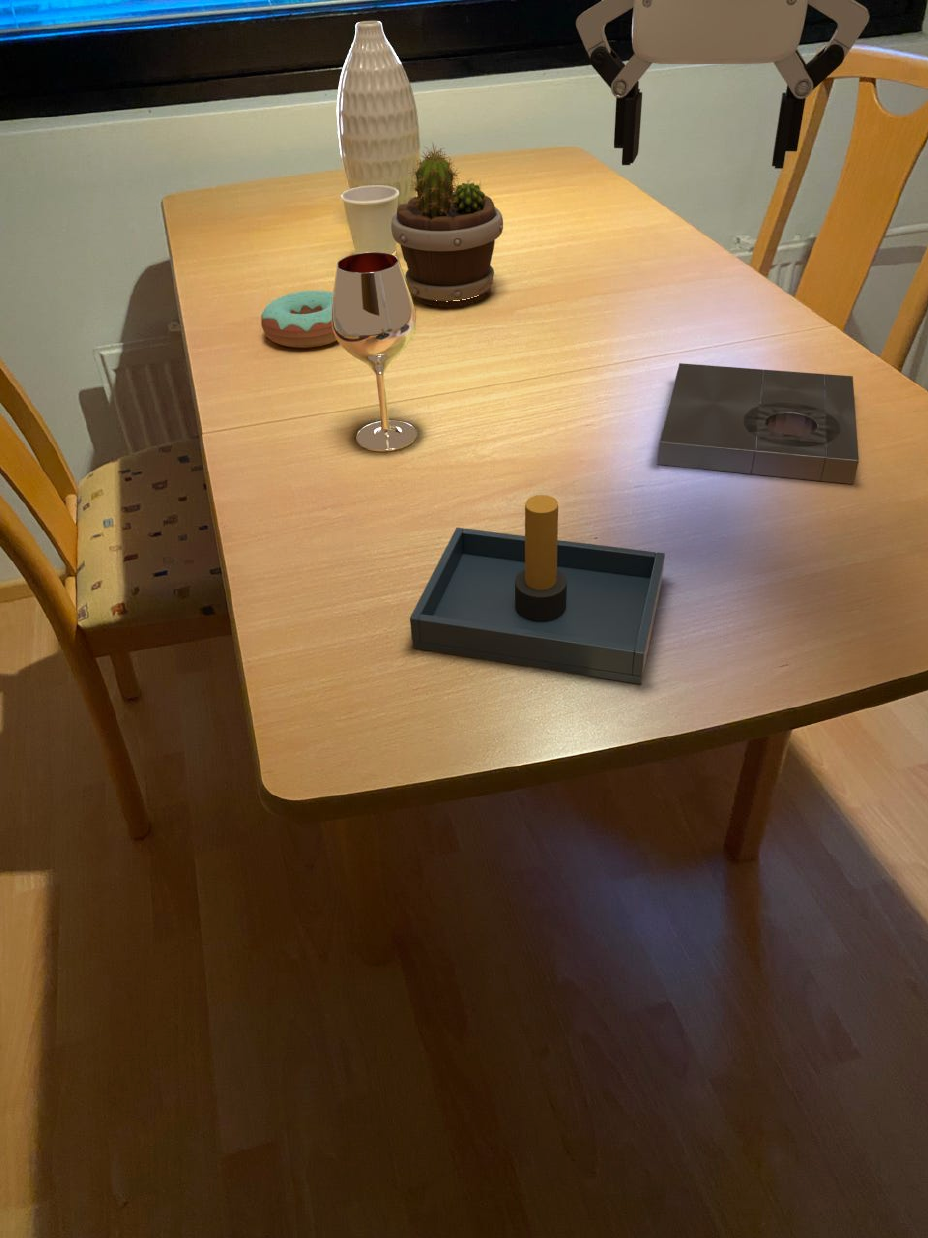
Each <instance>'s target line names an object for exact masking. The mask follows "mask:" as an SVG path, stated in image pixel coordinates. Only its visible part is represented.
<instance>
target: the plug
mask: <svg viewBox="0 0 928 1238" xmlns="http://www.w3.org/2000/svg"><path fill="white" fill-rule="evenodd" d="M558 535H559V502H558V500H557V499H556V498H555V497H553V496H551V495H547V494H537V495H532V496H530V497H529V498H527V499H526V500H525V502H524V536H525V569H524V570H522V571H521V572H520V573H519V574H518V575H517V576H516V578H515V608H516V611H517V612H518V614H519V615H520V616H522V617H523V618H525V619H527V620H530V621H535V622H547V621H552V620H555V619H557V618H558V617H560V616H561V615H562V614H563V613H564V612H565V610H566V596H567V579H566V577H565V575H564V574H563V573H562V572H561V571H559V570H558V569H557V540H559V539H558V537H559V536H558Z"/></svg>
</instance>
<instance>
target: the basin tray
mask: <svg viewBox="0 0 928 1238" xmlns="http://www.w3.org/2000/svg"><path fill="white" fill-rule="evenodd" d="M665 557H666V553H665V552H658V551H657V552H656V551H650V550H643V549H633V548H626V547H617V546H611V545H603V544H593V543H586V542H577V541H569V540H561V539H557V569H558V570H559V571H561V572H562V573H563V574H564V575H565V577H566V579H567V596H566V610H565V612H564V613H563V614H562V615H561V616H560V617H558V618H557V619H555V620H552V621H547V622H535V621H530V620H527V619H525V618H523V617H522V616H520V615H519V614H518V612H517V611H516V608H515V578H516V576H517V575H518V574H519V573H520V572H521V571H522V570H524V569H525V535H522V534H513V533H506V532H498V531H497V532H496V531H489V530H481V529H474V528H464V527H455V529H454V532H453V533H452V535H451V537H450V539H449V541H448V543H447V545H446V547H445V548H444V551H443V553H442V554H441V557H440V559H439V560H438V562H437V564H436V566H435V568H434V571H433V572H432V574H431V575H430V578H429V580H428V582H427V584H426V585H425V588H424V590H423V591H422V594H421V596H420V597H419V599H418V601H417V603H416V605H415V607H414V608H413V611H412V613H411V615H410V617H409V625H410V632H411V642H412V643H411V644H412V648H413V649H418V650H424V651H429V652H436V653H442V654H449V655H455V656H462V657H468V658H473V659H481V660H486V661H493V662H499V663H503V664H505V663H506V664H510V665H519V666H524V667H530V668H536V669H543V670H548V671H556V672H562V673H568V674H575V675H581V676H588V677H592V678H598V679H599V678H600V679H607V680H612V681H619V682H625V683H631V684H636V685H641V684H642V682H643V678H644V673H645V667H646V662H647V657H648V652H649V647H650V642H651V637H652V632H653V628H654V623H655V619H656V618H655V617H656V613H657V607H658V603H659V598H660V594H661V589H662V584H663V575H664V567H665V566H664V565H665Z"/></svg>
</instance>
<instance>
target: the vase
mask: <svg viewBox="0 0 928 1238" xmlns="http://www.w3.org/2000/svg"><path fill="white" fill-rule="evenodd" d="M418 117H419V116H418V110H417V106H416V101H415V95H414V92H413V89H412V86H411V83H410V80H409V77H408V75H407V72H406V70H405V68H404V66H403V64H402V62H401V59H399V56H397V53H396V52H395V49H394V48H393V47H392V45H391V43H390V41H388V39H387V36H386V35H385V32H384V29H383V24H382V22H381V21H379V20H363V21H359V22H356V24H355V33H354V38H353V41H352V43H351V46H350V49H349V51H348V53H347V56H346V58H345V62H344V64H343V66H342V70H341V73H340V77H339V83H338V89H337V99H336V125H337V136H338V145H339V153H340V158H341V164H342V168H343V172H344V176H345V180H346V183H347V186H348V189H352V188H356V187H361V186H369V185H383V186H390V187H394V188H396V189H397V190H398V191H399V196H398V205H397V207H398V206H399V205H401V204H407V203H408V202H409V200H410V199H412V198H413V197H414V196H416V193H414V192H415V191H414V192H413V191H412V190H413V189H411V188H413V187H415V186H416V185H414V184H415V183H417V181H416V179H417V178H415V177H416V174H415V172H414V171H417V170H418V168H417V167H420V164H419V163H420V162H419V161H420V160H421V156H419V155H421V139H420V125H419V118H418ZM417 160H418V161H417ZM418 162H419V163H418ZM417 164H419V166H418V165H417ZM415 165H416V166H415ZM413 169H415V170H413ZM413 172H414V173H413ZM409 173H410V174H409ZM413 174H415V175H414V176H413V177H411V176H412V175H413ZM411 178H412V179H411ZM412 181H413V182H415V183H413V182H412ZM410 185H411V186H410ZM413 185H414V186H413ZM412 186H413V187H412ZM412 194H413V195H414V196H413V195H412Z"/></svg>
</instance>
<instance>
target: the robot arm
mask: <svg viewBox="0 0 928 1238" xmlns="http://www.w3.org/2000/svg"><path fill="white" fill-rule="evenodd" d="M808 5H809V6H810V7H812V8H814V9H815V10H817V11H819V12H820V13H822V14H823V15H824V16H826V17H828V18H829V19H831V20H833V21H834V22H835V23H836V25H837V28H836V30H835V32H834V33H833V35H832V37H831V39H830V40H829V42H828V43H827V44H826V45H825V46H824V47H823V48H822V49H821V50H819V52H818V53H816V55H814V57H813V58H811V60H809V61H808V62H806V60H805V59H804V57H803V56H802V54H801V52H800V50H799V49H798V47H799V45H800V41H801V38H802V34H803V30H804V26H805V20H806V16H807V10H808ZM631 9H633V10H632V21H631V22H632V24H631V43H632V44H631V46H632V50H633V51H632V52H633V55H632V56H631V58H629V60H628V61H627V62H626V63H624V61H623V60H622V59H621V57H619V56H618V54H617V52H615V50H613V48H612V47H611V46H610V44H609V41H608V39H607V36H606V34H605V33H606V32H605V27H606V25H607V24H608V23H610V22H612V21H613V20H615V19H617V18H619V17H620V16H622V15H623V14H625V13H627V12H628V11H630V10H631ZM869 21H870V13H869V10H868V8H866V6H864V5H863V4H861V3H860V2H857V1H856V0H601V1H599V2H598V3H596V4H594V5H593V6H591V7H590V8H587V10H585V11H583V12H582V13H580V14H579V15H578V16H577V18H576V20H575V26H576V29H577V32H578V35H579V36H580V39H581V41H582V44H583V46H584V47H583V48H585V51H586V52H587V55H588V57H589V62H590V63H589V64H590V65H591V67H593V69H594V70H595V72H596V73H597V74H598V75H599V77H601V79H602V80H603V81H604V82H605V84H606V85H607V86H608V87H609V88H610V91H611V94H612V95H613V96H614V98H615V111H614V112H615V114H614V134H613V136H614V137H613V148H614V149H621V150H622V151H621V152H622V153H621V166H631V164H634V162H635V161H636V158H637V156H638V154H639V150H640V134H641V121H642V120H641V119H642V108H643V107H642V103H643V91H641V88H639V87H640V79H641V78H642V77H643V75H645V73H646V72H647V70H649V68H650V67H651V66H652V64H658V65H756V64H757V65H760V64H771V63H773V64H774V66H775V67H776V69H777V71H778V72H779V74H780V75H781V78H782V79H783V80H784V82H785V83H786V89H785V92H781V93H782V94H781V100H780V107H779V114H778V119H777V120H778V121H777V127H776V133H775V138H774V139H775V140H774V146H773V153H772V161H771V167H774V169H775V170H783V169H784V165H785V159H786V152H798V148H799V141H800V135H801V131H802V130H801V129H802V124H803V117H804V111H805V107H806V100H807V97H809V96H810V95H811V94H812V92H813V91H814V90H815V89H816V88H817V87H818V86H819V85H820V84H821V83H822V82H824V81H825V80H826V79H827V78H828V77H829V76H830V75H831V74H832V73H834V72H835V71H836V70H837V69H838V68H839V67H840V66H841V65H842V64H843V62H844V60H845V58H846V56H847V55H848V53H849V52H850V50H851V49H852V48H853V46H854V45H855V43H856V42H857V40H858V39H859V37H860V36H861V34H862V33H863V31H864V30H865V28H866V27H867V25H868V23H869Z"/></svg>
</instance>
